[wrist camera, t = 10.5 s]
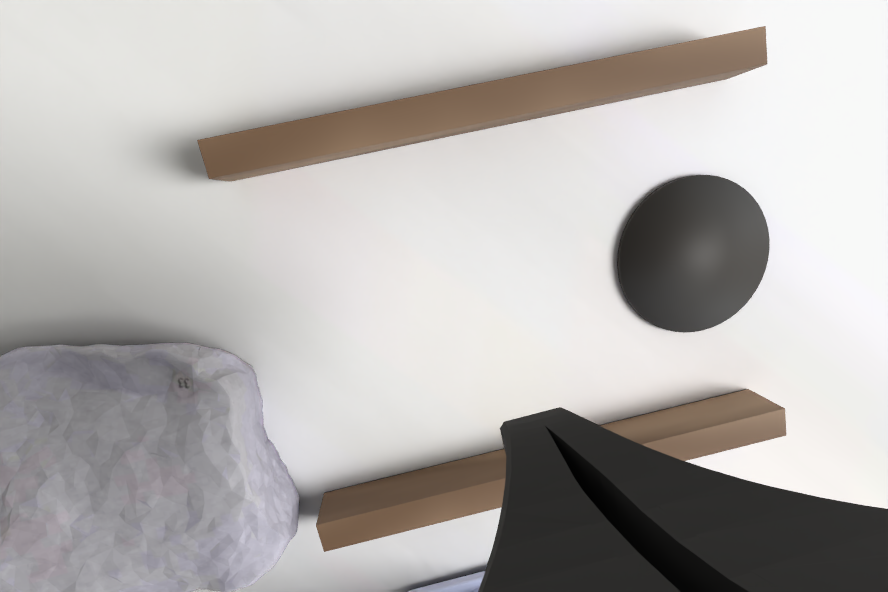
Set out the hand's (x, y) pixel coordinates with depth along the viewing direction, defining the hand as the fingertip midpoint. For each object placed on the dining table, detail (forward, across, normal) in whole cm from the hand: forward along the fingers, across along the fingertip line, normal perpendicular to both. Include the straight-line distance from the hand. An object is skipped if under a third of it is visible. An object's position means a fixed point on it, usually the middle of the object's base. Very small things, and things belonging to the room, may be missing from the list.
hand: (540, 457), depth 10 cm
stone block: (+10, +14, +1) cm, 17 cm away
